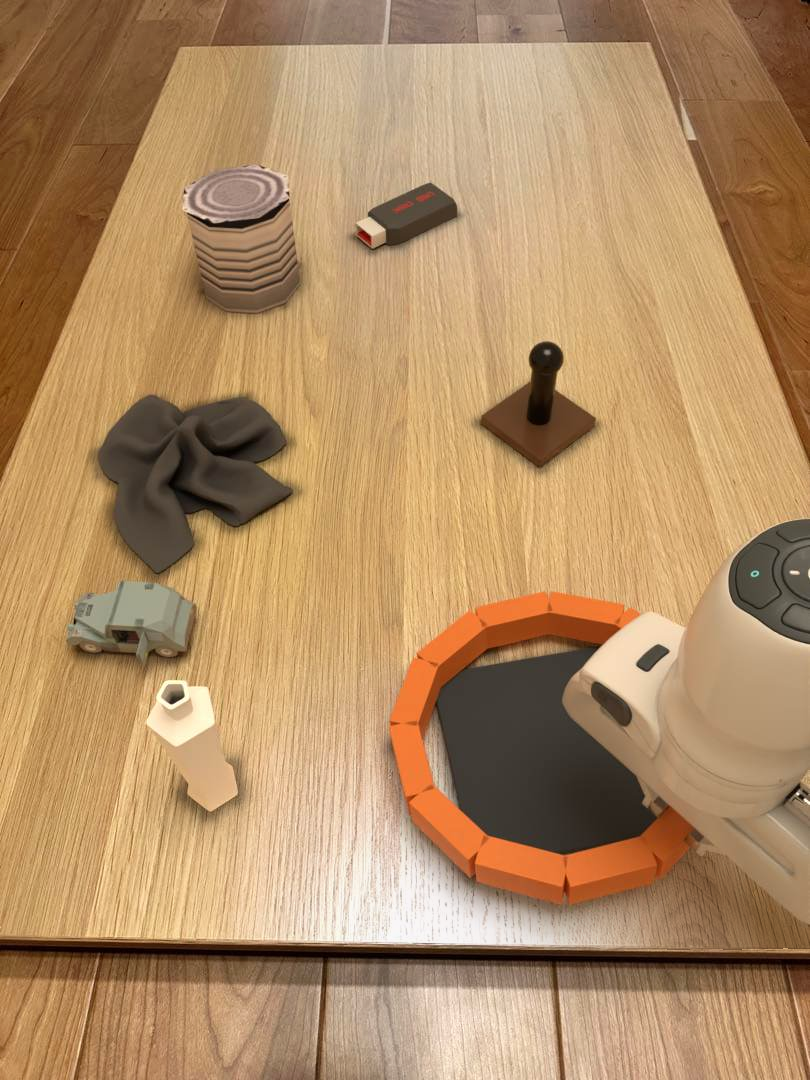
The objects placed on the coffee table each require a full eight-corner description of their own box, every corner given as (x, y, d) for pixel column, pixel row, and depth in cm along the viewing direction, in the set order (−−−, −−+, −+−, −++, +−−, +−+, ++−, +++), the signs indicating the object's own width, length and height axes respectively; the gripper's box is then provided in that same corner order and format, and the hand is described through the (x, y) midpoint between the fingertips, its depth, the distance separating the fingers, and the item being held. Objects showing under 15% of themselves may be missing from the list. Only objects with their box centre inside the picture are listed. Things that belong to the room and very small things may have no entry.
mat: (618, 647, 82) (619, 642, 81) (685, 831, 72) (687, 827, 72) (430, 679, 80) (430, 674, 80) (473, 871, 71) (474, 867, 70)
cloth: (101, 404, 100) (85, 359, 95) (283, 384, 101) (275, 339, 96) (90, 582, 87) (70, 540, 82) (299, 556, 88) (291, 513, 83)
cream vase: (229, 823, 73) (190, 735, 61) (176, 805, 74) (128, 715, 62) (254, 768, 76) (222, 674, 64) (203, 751, 77) (162, 655, 65)
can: (205, 321, 108) (183, 227, 98) (198, 258, 114) (177, 164, 105) (308, 306, 109) (296, 212, 99) (295, 244, 115) (283, 151, 106)
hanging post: (480, 423, 98) (485, 344, 89) (535, 385, 101) (545, 304, 92) (539, 468, 94) (550, 389, 86) (594, 426, 97) (610, 346, 89)
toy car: (86, 609, 85) (70, 577, 81) (199, 616, 84) (188, 584, 81) (65, 675, 81) (47, 644, 77) (184, 682, 81) (171, 652, 77)
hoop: (333, 744, 76) (327, 723, 74) (545, 571, 86) (545, 548, 84) (569, 976, 63) (571, 960, 61) (788, 741, 73) (796, 719, 70)
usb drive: (457, 216, 118) (458, 195, 116) (377, 254, 114) (376, 234, 112) (430, 196, 121) (430, 176, 119) (351, 233, 117) (350, 213, 114)
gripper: (925, 828, 52) (837, 906, 63) (627, 593, 61) (595, 697, 72) (860, 910, 50) (779, 976, 61) (559, 652, 59) (537, 751, 70)
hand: (677, 822), depth 67 cm, fingers closed on hoop, 2 cm apart
